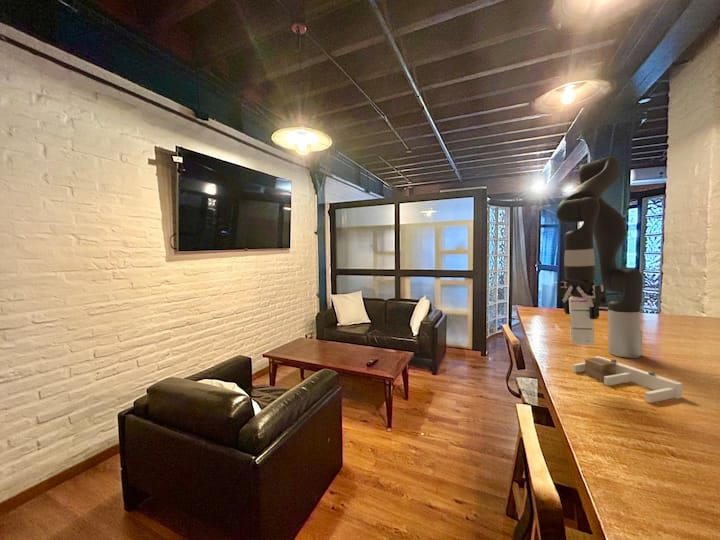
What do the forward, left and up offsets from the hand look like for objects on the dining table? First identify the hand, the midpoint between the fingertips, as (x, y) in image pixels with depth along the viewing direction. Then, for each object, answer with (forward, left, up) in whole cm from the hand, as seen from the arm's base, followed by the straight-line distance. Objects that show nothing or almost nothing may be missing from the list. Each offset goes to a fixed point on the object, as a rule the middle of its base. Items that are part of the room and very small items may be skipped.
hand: (580, 316), depth 92 cm
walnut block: (-9, -2, -21) cm, 23 cm away
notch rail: (-10, +4, -21) cm, 24 cm away
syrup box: (0, 0, -8) cm, 8 cm away
